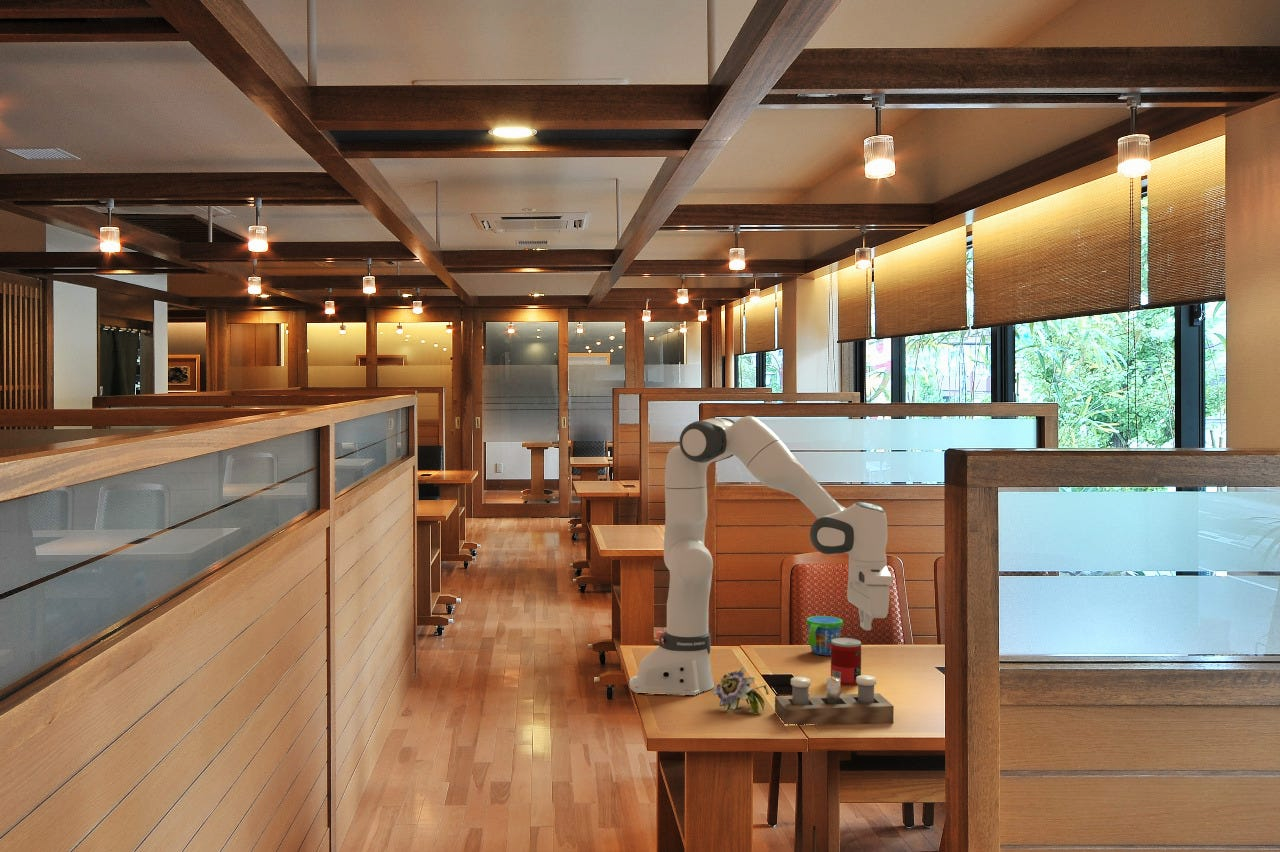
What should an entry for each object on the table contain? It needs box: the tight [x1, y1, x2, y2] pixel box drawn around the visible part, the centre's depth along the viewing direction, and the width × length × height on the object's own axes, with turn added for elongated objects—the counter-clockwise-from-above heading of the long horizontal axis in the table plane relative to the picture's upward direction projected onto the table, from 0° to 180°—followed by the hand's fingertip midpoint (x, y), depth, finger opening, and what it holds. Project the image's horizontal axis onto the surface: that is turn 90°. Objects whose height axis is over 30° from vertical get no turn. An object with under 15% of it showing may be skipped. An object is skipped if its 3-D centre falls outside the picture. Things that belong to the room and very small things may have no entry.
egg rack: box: [774, 692, 895, 726], centre depth 236 cm, size 26×10×4 cm, turn 95°
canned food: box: [830, 637, 862, 686], centre depth 266 cm, size 8×8×11 cm
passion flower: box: [711, 667, 770, 714], centre depth 243 cm, size 11×11×12 cm
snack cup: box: [805, 615, 844, 656], centre depth 296 cm, size 16×10×10 cm
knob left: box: [790, 676, 811, 706], centre depth 235 cm, size 5×5×9 cm
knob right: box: [856, 674, 877, 704], centre depth 237 cm, size 5×5×9 cm
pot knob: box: [826, 675, 841, 705], centre depth 236 cm, size 3×3×6 cm
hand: (865, 628), depth 236 cm, fingers closed
